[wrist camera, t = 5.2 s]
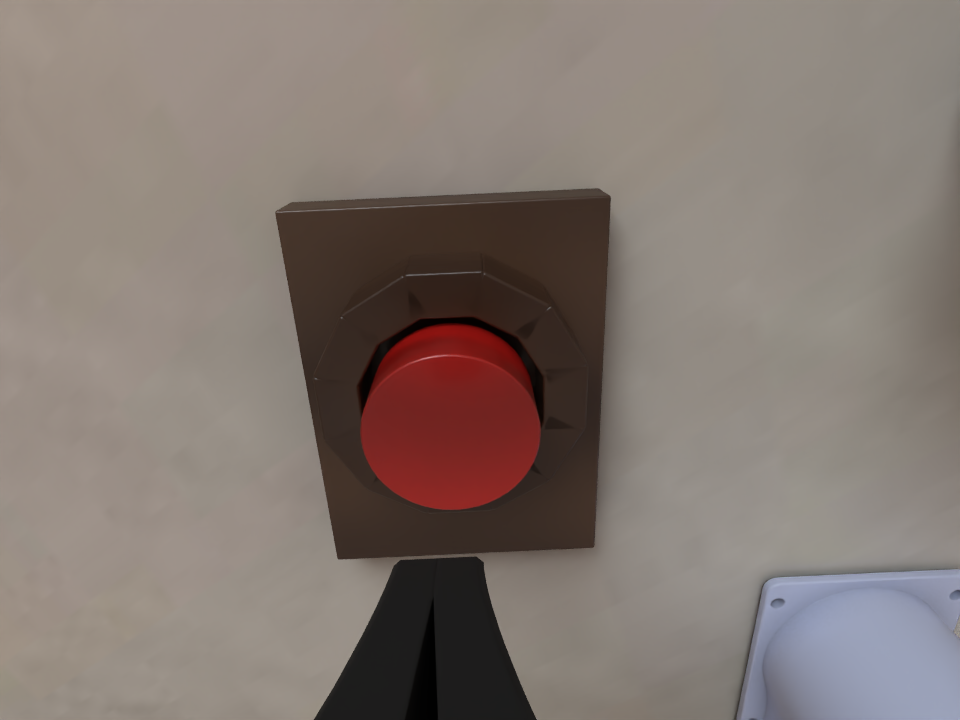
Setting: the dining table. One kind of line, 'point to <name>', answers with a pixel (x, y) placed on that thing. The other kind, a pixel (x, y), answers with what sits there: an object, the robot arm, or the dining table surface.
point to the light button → (451, 418)
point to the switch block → (466, 300)
